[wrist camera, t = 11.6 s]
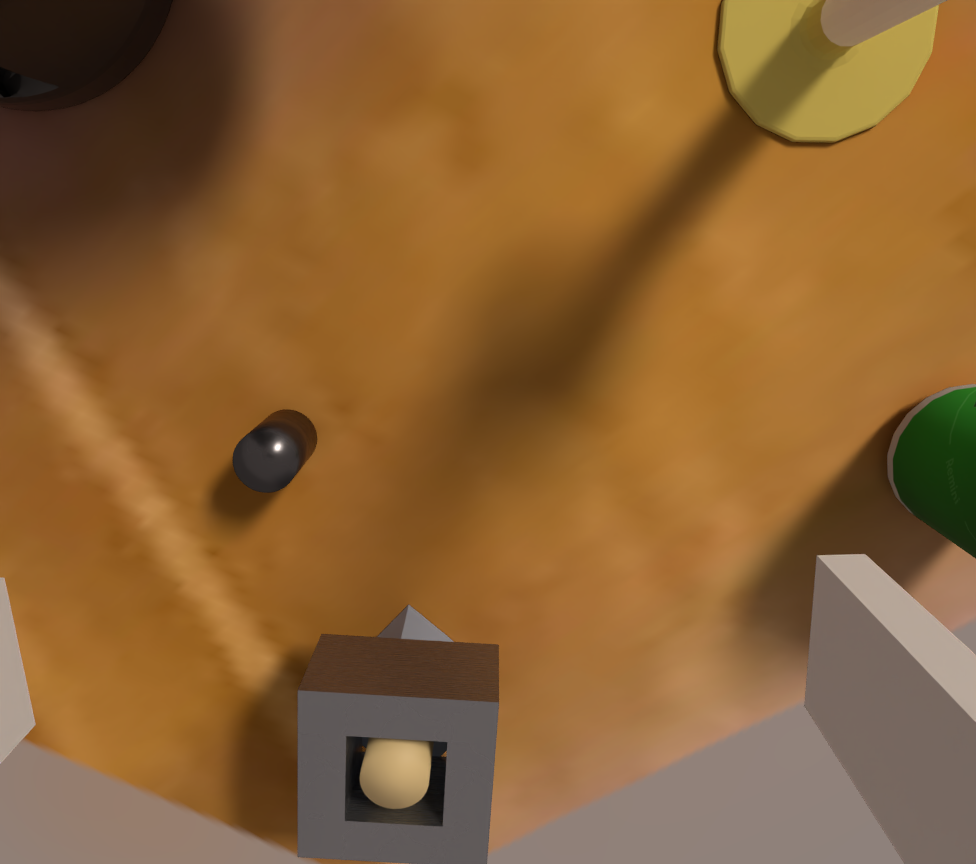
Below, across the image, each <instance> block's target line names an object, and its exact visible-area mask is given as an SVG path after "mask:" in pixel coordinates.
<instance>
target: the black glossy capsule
mask: <svg viewBox="0 0 976 864" xmlns="http://www.w3.org/2000/svg"><path fill="white" fill-rule="evenodd" d="M316 444H317V433H316V430H315V427H314V425H313V424H312V422H311V421H310V420H309V419H308V418H307V417H306V416H305V415H303V414H302V413H300V412H297V411H294V410H280V411H277V412H274V413H272V414H271V415H270V416H268V417H267V418H266V419H265V420H264V421H262V422H261V423H260V424H259V425H258V426H257V427H255V428H254V429H253V430H252V431H251V432H250V433H248V434H247V435H246V436H245V437H244V438H243V439H242V440H241V441H240V442H239V443H238V444H237V446H236V448H235V450H234V453H233V466H234V470H235V472H236V474H237V476H238V478H239V479H240V480H241V481H242V482H243V483H244V484H245V485H246V486H248V487H249V488H251V489H253V490H255V491H259V492H267V493H268V492H275V491H278V490H280V489H282V488H284V487H285V486H287V485H288V484H289V483H290V481H291V480H292V479H293V478H294V476H295V475H296V474H297V473H298V471H299V470H300V469H301V467H302V466H303V465H304V464H305V462H306V461H307V460H308V459H309V457H310V456H311V455H312V454H313V452H314V450H315V448H316Z"/></svg>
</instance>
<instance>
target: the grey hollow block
mask: <svg viewBox="0 0 976 864" xmlns="http://www.w3.org/2000/svg"><path fill="white" fill-rule="evenodd" d="M498 709H499V645H496V644H480V643H463V642H447V641H430V640H414V639H397V638H381V637H364V636H348V635H331V634H321V636H320V639H319V641H318V644H317V646H316V648H315V651H314V653H313V655H312V658H311V660H310V663H309V665H308V667H307V670H306V672H305V674H304V677H303V679H302V681H301V684H300V686H299V689H298V857H306V858H324V859H341V860H358V861H375V862H392V863H409V864H487V856H488V842H489V829H490V816H491V802H492V789H493V776H494V762H495V749H496V735H497V722H498ZM362 737H372V738H389V739H405V740H422V741H439V742H447V757H441V756H432V761H431V770H430V778H429V785H428V789H427V791H426V793H425V795H424V796H423V797H422V799H421V800H419V801H418V802H417V803H415V804H414V805H412V806H409V807H406V808H402V809H390V808H385V807H382V806H379V805H377V804H375V803H374V802H372V801H371V800H370V799H369V798H368V797H367V796H366V795H365V793H364V792H363V790H362V788H361V785H360V772H361V768H362V764H363V760H364V756H365V752H362Z"/></svg>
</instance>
